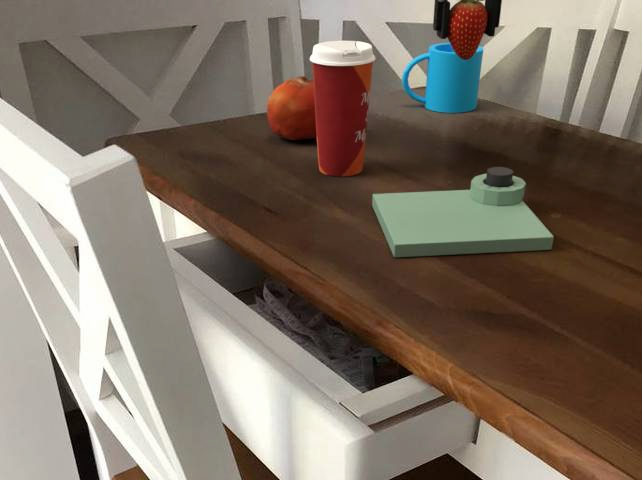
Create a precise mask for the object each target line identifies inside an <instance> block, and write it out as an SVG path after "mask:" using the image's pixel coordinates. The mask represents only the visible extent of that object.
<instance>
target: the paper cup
mask: <svg viewBox="0 0 642 480" xmlns="http://www.w3.org/2000/svg"><path fill="white" fill-rule="evenodd" d="M373 49H374V48H373V46H372V44H370V43H368V42H364V41H359V40H330V41H323V42H319V43H316V44H314V45H313V47H312V54H311V55H310V57H309V61H310V62H311V63H312V76H313V78H312V79H313V81H314V99H315V116H316V133H317V137H316V147H317V160H318V161H317V163H318V169H319V172H320V173H321V174H323V175H325V176H331V177H343V178H344V177H351V176H355V175H359V174H361V173H362V171H363V169H364V161H365V152H366V151H365V150H366V140H367V130H368V118H369V109H370V108H369V107H370V98H371V97H370V96H371V86H372V73H373V62H375V61H376V60H377V59H376V56H375V54H374V51H373Z"/></svg>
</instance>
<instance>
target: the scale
mask: <svg viewBox="0 0 642 480" xmlns="http://www.w3.org/2000/svg"><path fill="white" fill-rule="evenodd" d="M486 175H487V173H482V174H479V175H475V176H474V177H473V178H472V179H471V181H470V189H457V190H456V189H455V190H454V189H453V190H433V191H411V192H409V191H408V192H389V193H385V192H384V193H373V194H372V202H371V207H372V209H373V211H374V213H375V216H376V218H377V221H378V223H379V225H380V228H381V230H382V233H383V234H384V238H385V240H386V242H387V244H388V246H389V249H390V251H391V254H392V256H393V258H415V257H431V256H433V257H434V256H452V255H454V256H455V255H474V254H475V255H476V254H494V253H495V254H497V253H512V252H513V253H514V252H533V251H535V252H536V251H551V250H552V248H553V243H554V239H555V237H554V235H553V234H552V233H551V232H550V231H549V229H548V228H547V227H546V226H545V225H544V224H543V223H542V221H541V220H540V219H539V217H538V216H537V215H536V214H535V213H534V212H533V211H532V209H530V208H529V206H528V205H527V204H526V203H525V202H524V200H523V199H524V198H525V197H524V196H525V193H526V187H527V182H525V180H524V179H523V178H521V177H519V176H515V175H513V178H512V184H511V186H509V187H500V188H499V187H491V186H489V185H486V184H485V182H486Z"/></svg>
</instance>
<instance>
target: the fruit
mask: <svg viewBox="0 0 642 480" xmlns="http://www.w3.org/2000/svg"><path fill="white" fill-rule="evenodd" d="M483 1H484V2H485V0H458V1H457V2H456V3H455V4H454V5H452V7H450V15H449V28H448V37H447V39H448V43H450V44H451V46H452V48H453V50H454V52H455V53H456V54H457V56H459V57H460V58H461V59H464V60H468V59H470V58H471V57H472V56H473V55H474V54H475V53H476V51H477V49H478V47H479V46H480V44H481V42H482V40H483V37H484V35H485V34H484V32H485V29H486V25H487V19H488V15H487V10H486V8H485V4H484V3H483Z"/></svg>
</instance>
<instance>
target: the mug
mask: <svg viewBox="0 0 642 480" xmlns="http://www.w3.org/2000/svg"><path fill="white" fill-rule="evenodd" d="M483 57H484V47H483V46H481V45H479V47H478V49H477V51H476V53H475V54H474V55H473V56H472V57H471V58H470V59H468V60H464V59H461V58H460V57H459V56H457V54H456V53H455V52H454V50H453V48H452V46H451V44H450V42H443V43H435V44H432V45H430V46H429V47H428V52H426V53H423V54H420V55H418V56H416V57H414V58H413V59H412V60H411V61H410V62H408V64H407V65H406V67H405V68H404V70H403V72H402V77H401V83H402V88H403V90H404V91H405V93H406V95H408V96H409V98H411V99H412V100H414V101H416V102H418V103H421V104H423V106H424V107H425V109H427V110H430V111H433V112H437V113H447V114H448V113H449V114H457V113H466V112H472V111H474V110H475V109H477V104H478V97H479V89H480V79H481V72H482V65H483V64H482V63H483ZM425 60H427V68H426V69H427V71H426V82H425V95H424V96H425V97H423V96H421V95H418V94H416V93H415V92H414V91H413V90H412V88H411V87H410V84H409V76H410V73H411V71H412V70H413V68H414V67H415V66H417V64H419V63H420V62H423V61H425Z"/></svg>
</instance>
